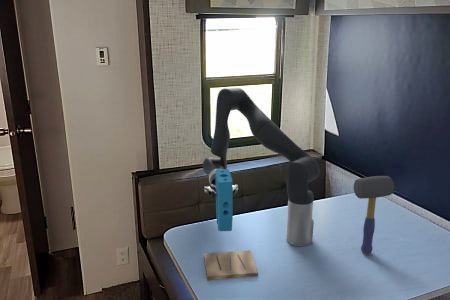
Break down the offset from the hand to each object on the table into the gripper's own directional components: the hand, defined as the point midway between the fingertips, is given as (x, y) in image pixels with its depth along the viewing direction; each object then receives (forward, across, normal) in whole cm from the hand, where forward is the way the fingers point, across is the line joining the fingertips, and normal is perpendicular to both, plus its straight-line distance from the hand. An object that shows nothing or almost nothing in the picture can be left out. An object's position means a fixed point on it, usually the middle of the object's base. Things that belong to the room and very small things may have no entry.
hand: (223, 199), depth 158 cm
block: (0, 0, +11) cm, 11 cm away
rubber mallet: (+11, +51, +20) cm, 56 cm away
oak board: (+13, 0, +20) cm, 24 cm away
